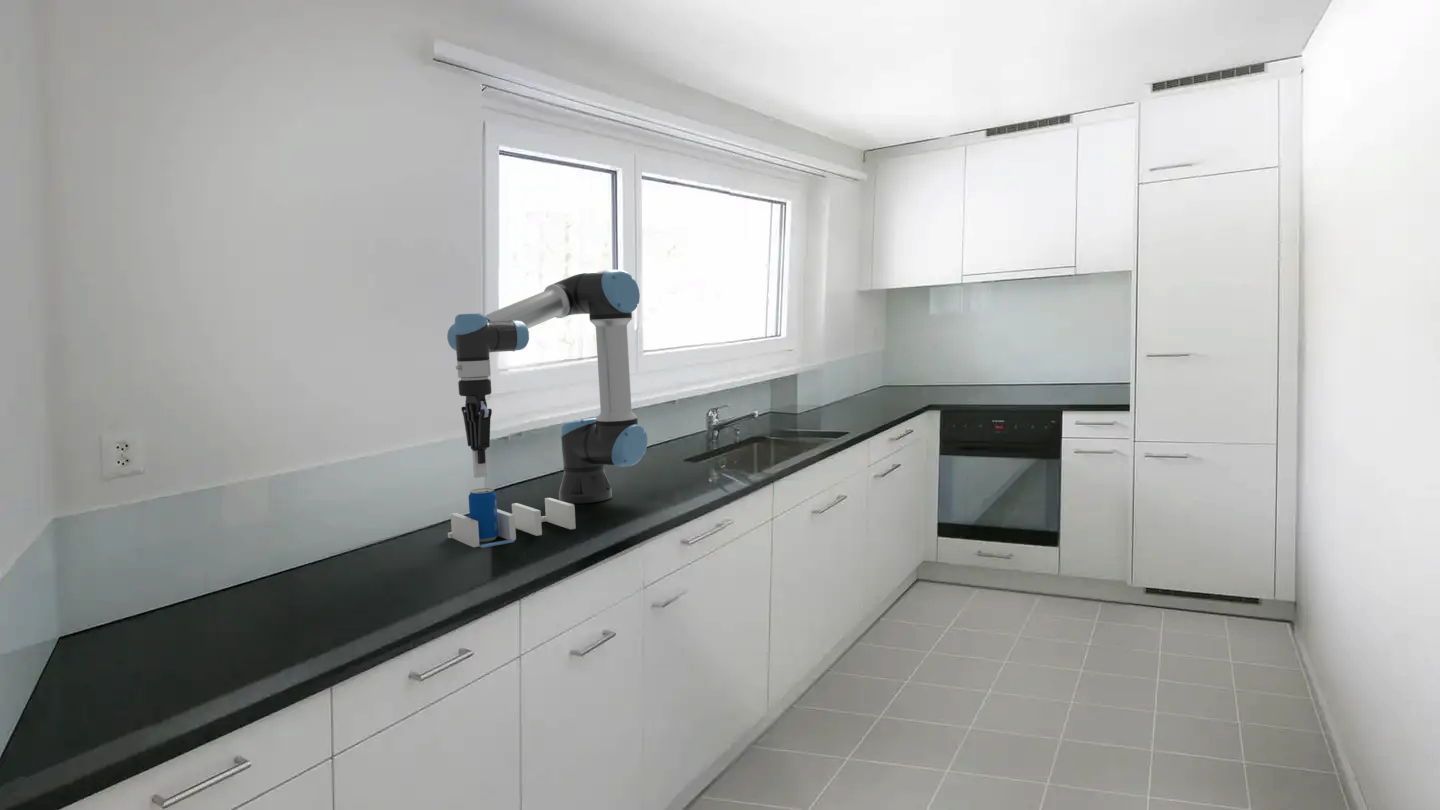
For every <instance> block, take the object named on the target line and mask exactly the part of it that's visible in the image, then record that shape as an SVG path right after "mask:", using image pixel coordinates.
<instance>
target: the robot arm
mask: <svg viewBox="0 0 1440 810" xmlns="http://www.w3.org/2000/svg"><path fill="white" fill-rule="evenodd" d="M640 295H641V294H640V289H639V286H638V283H637V281H636V279H635V278H634V277H632V275H631V274H630V273H629V272H628V271H626V270H622V269H607V270H598V271H584V272H580V273H576V274H574V275H571V276H568V277H566V278H563V279H562V280H559V281H556V282H554V283H553V284H550V285H547V286H546V287H545V288H544V291H542V292H539V293H537V294H534V295H532V296H530V297H527V298H524V299H522V300H519V301H516V302H515V303H512V304H510V305H509V304H508V305H507V306H505V307H501V308H499V309H497V310H494V311H492V312H490V313H487V314H485V313H483V312H481V313H460V314H459V313H458V314H457V315H456V316H455V318H454V323H453V324H452V325H451V326H450V327H449V329H448V330H447V342H448V344H449V346H450V347H451V348H452V350H454V351H456V363H457V364H456V365H455V369H456V370H457V378H459V381H458V382H457V383H458V384H457V385H458V395H459V396H461V397H465V404H464V405H465V406H461V413H462V416H463V421H464V427H465V435H466V441H467V446H468V447H470V449H471V451H472V453H471V454H472V468H473V478H476V479H477V478H484V477H488V469H487V455H486V454H487V453H486V450H487V449H488V448H490V446H491V444H490V443H491V442H490V441H491V440H490V439H491V419H492V418H491V417H492V415H493V413H492V412H493V410H492V408H488V404H487V399H486V396H487V395H490V394H492V381H491V379H490V378H489V377H491V375H492V374H491V359H490V353H496V352H497V353H499V352H517V351H520V350H521V351H522V350H523V349H525V348H526V347H527V345H528V344H529V341H530V331H529V329H530V328H532V327H535V326H538V325H540V324H542V323H545V322H547V321H549V320H552V319H554V318H557V319H562V318H563V319H564V318H565V317H568V316H574V315H587V314H588V315H589V322H591V324H593V326H594V327H595V335H596V355H597V356H596V357H597V369H598V373H597V374H598V386H599V387H598V388H599V389H598V390H599V391H598V392H599V404H600V406H599V407H600V413H599V414H598V416H597V417H593V418H592V417H591V418H584V419H580V420H572V421H566V422H564V423H563V424H562V425H561V435H560V437H561V438H560V439H561V451H562V464H563V465H562V466H563V476H562V480H561V484H560V487H559V490H558V500H560V501H563V502H566V503H570V504H588V503H589V504H590V503H596V502H603V501H606V500H607V501H608V500H609V499H611V498H613V495H612V491H613V490H612V486H611V485H610V482H609V479H608V477H607V475H606V472H605V466H607V465H608V466H613V467H614V466H615V467H617V468H618V467H620V468H621V467H632V466H635V465H637V464H638V463H640V461H641V460H642V458H643V456H644V455H645V453H646V451H647V447H648V435H647V431H646V430H645V428H644V427H643V426H642V425H639V421H638V416H637V415H636V414H635V413H634V412H633V411H632V395H631V392H632V391H631V377H630V376H631V375H630V374H631V373H630V358H629V344H628V343H629V340H628V324H629V323H630V322H631V321H632V319H633V317H632V316H633V313H632V312H633V311H635V310H636V309H637V307H638V304H640V298H641V297H640Z"/></svg>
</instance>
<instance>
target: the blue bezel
mask: <svg viewBox="0 0 1440 810" xmlns="http://www.w3.org/2000/svg"><path fill="white" fill-rule="evenodd" d="M511 543H515V540H512V539H510V540H507V539H505V540H500V541H499V540H498V541H495V542H489V543H483V544H480V546H479V548H481V549H484V548H489V547H494V546H500V545H506V544H511Z"/></svg>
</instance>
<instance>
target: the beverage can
mask: <svg viewBox="0 0 1440 810" xmlns="http://www.w3.org/2000/svg"><path fill="white" fill-rule="evenodd" d="M494 489H495V488H489V487H485V488H484V487H483V488H482V487H481V488H475V489H471V490H470V491H469V495H468V508H469V510H468V511H469V518H471V519H474V520H476V521H478V529H479V543H483V542H491V541H494V540H496V538H497V537H499V536H498V535H499V532H498V516H497V509H498V503H497V493H496V492H495V490H494Z"/></svg>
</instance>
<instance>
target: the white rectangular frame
mask: <svg viewBox="0 0 1440 810" xmlns="http://www.w3.org/2000/svg"><path fill="white" fill-rule="evenodd" d="M544 506H545V508H544V509H545V515H543V516H542V514H541V513H542V511H541V510H540V509H537V508H534V507H531V506H527V505H525V504H523V503H522V504H521V503H518V502H515V503H511V513H510V512H507V511H505V510H501V509H499V508H497V516H498V532H499V535H498V536H497V537H500V538H503V539H505V540H510V539H512V540H514V541H516V540H517V533H516V532H517V530H520V531H522V532H525V533H527V534H531V535H533V536H537V537H538V536H542V535H543V529H542V523H544V522H548V523H550V524H553V525H556V526H558V527H563V528H565V529H568V530H575V529H576V527H577V526H576V510H575V509H576V508H575V504H574V503H566V502H563V501H560V500H559V499H555V498H552V497H545V498H544ZM450 524H451V525H450V526H451V532H447V538H448V539H453V540H456V541H458V542H460V543H463V544H465V545H467V546H470V547H472V548H477V547H479V548H480V545H481V544H480V542H479V529H478V521H476V520H474V519H471V518H470V517H468V516H467V515H463V514H461V513H457V512H453V513H452V512H451V513H450Z"/></svg>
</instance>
